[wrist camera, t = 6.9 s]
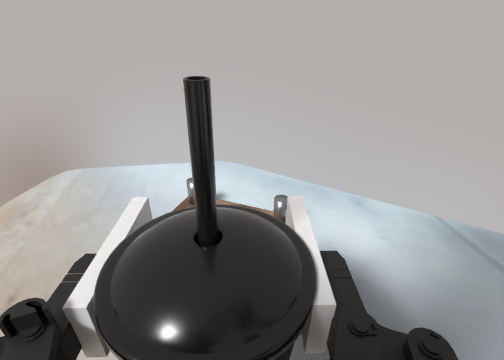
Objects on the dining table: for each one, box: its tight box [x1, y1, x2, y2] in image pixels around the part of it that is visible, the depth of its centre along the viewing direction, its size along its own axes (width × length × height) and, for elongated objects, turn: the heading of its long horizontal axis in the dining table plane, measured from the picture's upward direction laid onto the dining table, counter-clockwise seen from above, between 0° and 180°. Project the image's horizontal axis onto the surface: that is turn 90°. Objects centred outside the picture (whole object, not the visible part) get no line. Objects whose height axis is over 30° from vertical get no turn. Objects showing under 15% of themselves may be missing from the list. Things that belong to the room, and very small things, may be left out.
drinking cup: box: [93, 76, 317, 360], centre depth 12 cm, size 8×8×20 cm
